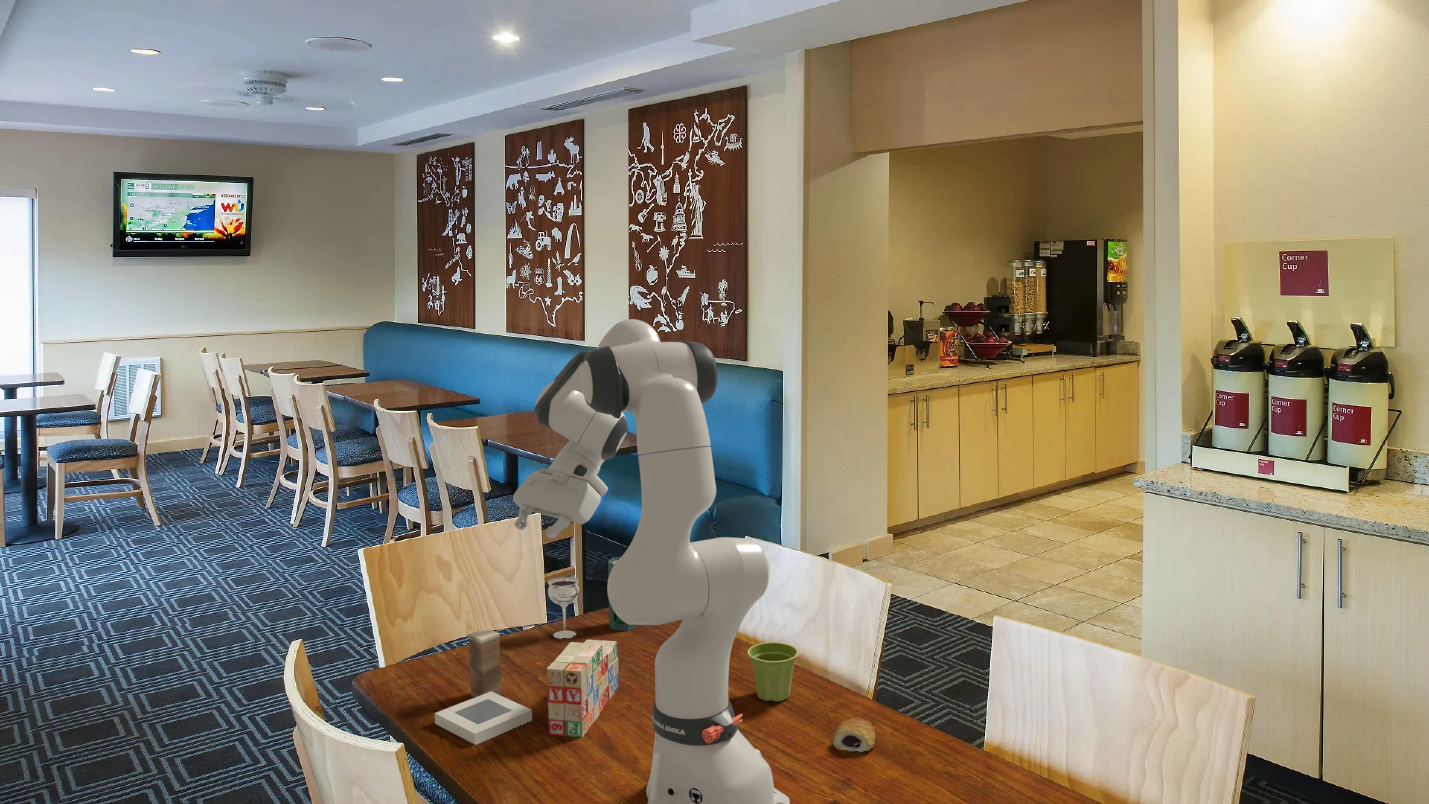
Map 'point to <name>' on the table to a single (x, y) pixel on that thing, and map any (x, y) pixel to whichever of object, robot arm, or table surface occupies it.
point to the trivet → (483, 717)
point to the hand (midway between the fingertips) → (533, 532)
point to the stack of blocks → (580, 686)
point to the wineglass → (563, 598)
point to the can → (614, 620)
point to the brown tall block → (484, 662)
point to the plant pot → (773, 669)
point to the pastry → (854, 735)
